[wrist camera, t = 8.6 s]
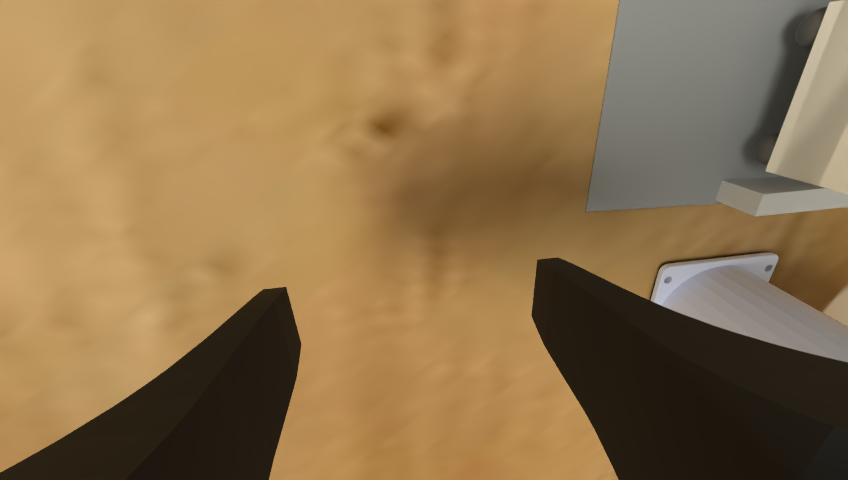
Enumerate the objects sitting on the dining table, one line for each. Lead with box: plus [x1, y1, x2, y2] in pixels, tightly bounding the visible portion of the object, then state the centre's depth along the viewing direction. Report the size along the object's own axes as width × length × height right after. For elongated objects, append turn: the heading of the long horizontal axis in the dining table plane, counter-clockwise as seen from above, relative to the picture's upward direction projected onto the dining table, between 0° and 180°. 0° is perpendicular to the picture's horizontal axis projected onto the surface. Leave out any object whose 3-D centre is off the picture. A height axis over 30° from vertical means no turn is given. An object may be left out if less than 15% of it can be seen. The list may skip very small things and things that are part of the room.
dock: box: [586, 0, 848, 216], centre depth 17 cm, size 12×18×5 cm
